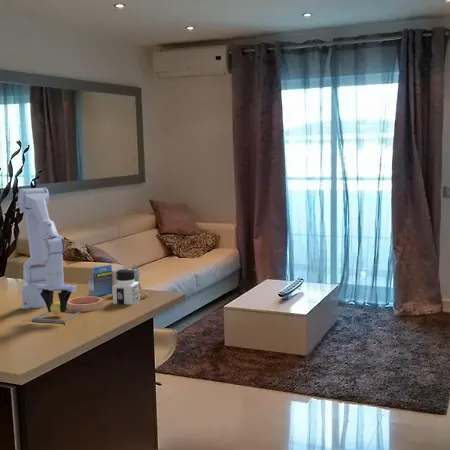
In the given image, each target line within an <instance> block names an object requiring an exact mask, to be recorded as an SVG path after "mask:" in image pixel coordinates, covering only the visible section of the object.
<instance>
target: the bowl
mask: <svg viewBox="0 0 450 450" xmlns="http://www.w3.org/2000/svg"><path fill="white" fill-rule="evenodd" d="M103 307H104V300H103V297H100V296H95V297H93V296H89V295H88V296H77V297H73V298H69V299H68V302H67V306H66V309H67V310H66V311H81V313H85V312H93V311H97V310H100V309H102V308H103Z"/></svg>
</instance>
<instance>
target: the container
mask: <svg viewBox="0 0 450 450" xmlns="http://www.w3.org/2000/svg"><path fill="white" fill-rule="evenodd" d="M132 269H133V268H121V269H117V270H116V271H117V281H116V283H115V284H114V285H113V284H112V304H113V305H135V304H136V303H137V302H139V301H140V299H141V298H140V281H139V282H134V281H135V277H134V270H132ZM117 282H118V283H117Z"/></svg>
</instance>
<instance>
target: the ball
mask: <svg viewBox="0 0 450 450" xmlns="http://www.w3.org/2000/svg"><path fill="white" fill-rule="evenodd" d="M50 310H51V312H50V313H52V314H53V315H56V316H57V315H60V314H62V313H61V309H60V301H53V303H52V304H51V307H50Z"/></svg>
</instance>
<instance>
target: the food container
mask: <svg viewBox="0 0 450 450" xmlns="http://www.w3.org/2000/svg"><path fill="white" fill-rule="evenodd" d="M131 269H132V270H134V277H135V281H134V282H139V283H140V280H139V279H140V275H141V273H142V272H141V269H140V267H138V266H133V268H131ZM117 271H118V270H115V273H114V277H115V279H116V284H117V283H118V282H117Z"/></svg>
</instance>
